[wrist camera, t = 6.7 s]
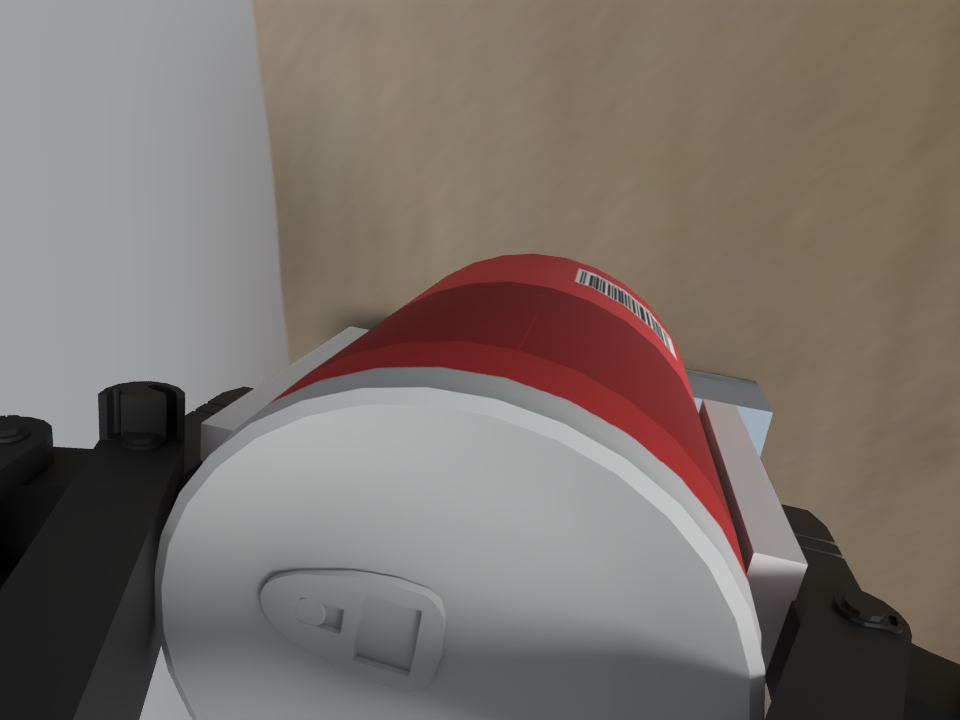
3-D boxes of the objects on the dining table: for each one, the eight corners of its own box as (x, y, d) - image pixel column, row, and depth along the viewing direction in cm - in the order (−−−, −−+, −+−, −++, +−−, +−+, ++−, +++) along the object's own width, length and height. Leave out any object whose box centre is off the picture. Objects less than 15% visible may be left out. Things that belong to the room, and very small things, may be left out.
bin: (406, 317, 40) (380, 337, 36) (756, 382, 37) (773, 412, 33) (379, 596, 47) (354, 641, 43) (675, 671, 44) (680, 727, 39)
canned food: (382, 254, 19) (86, 383, 8) (689, 241, 17) (796, 380, 7) (410, 506, 21) (201, 860, 10) (684, 516, 19) (759, 947, 9)
